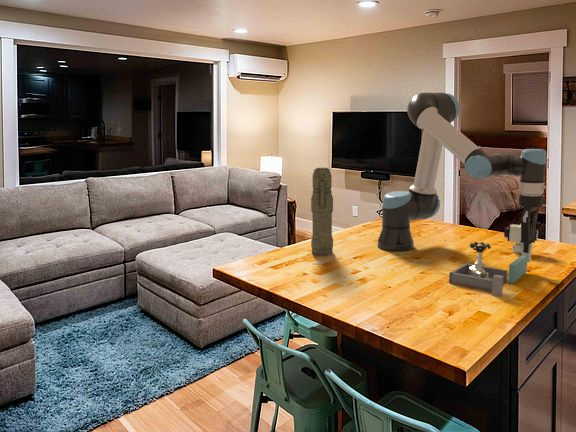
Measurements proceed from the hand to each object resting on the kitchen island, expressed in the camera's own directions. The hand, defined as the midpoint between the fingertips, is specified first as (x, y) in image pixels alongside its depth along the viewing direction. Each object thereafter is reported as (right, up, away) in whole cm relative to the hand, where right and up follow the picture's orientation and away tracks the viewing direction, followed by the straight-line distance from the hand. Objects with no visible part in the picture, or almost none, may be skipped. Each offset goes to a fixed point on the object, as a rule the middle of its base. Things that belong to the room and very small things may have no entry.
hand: (526, 260), depth 171 cm
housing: (-20, -7, -11) cm, 24 cm away
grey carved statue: (-70, 0, +30) cm, 76 cm away
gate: (-6, -5, -6) cm, 10 cm away
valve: (-20, -6, -9) cm, 23 cm away
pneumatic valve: (+10, +1, +26) cm, 28 cm away
